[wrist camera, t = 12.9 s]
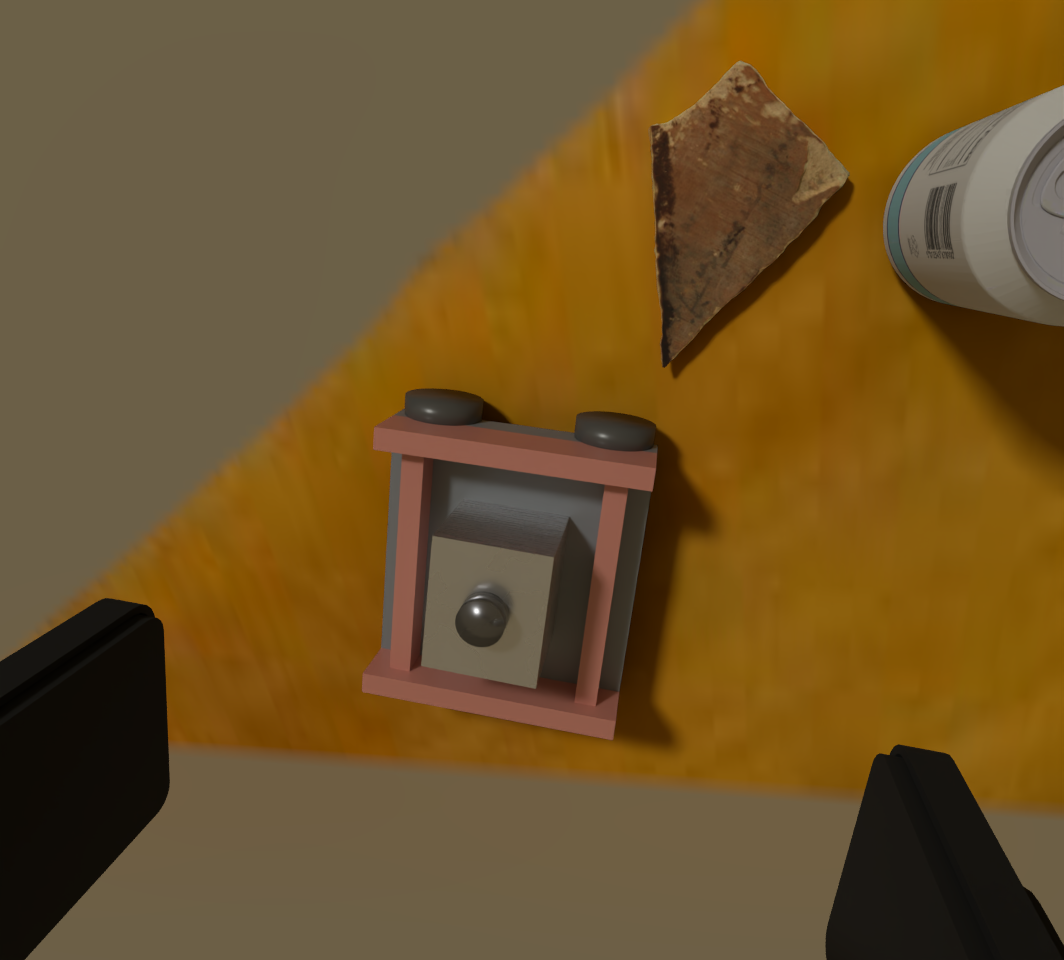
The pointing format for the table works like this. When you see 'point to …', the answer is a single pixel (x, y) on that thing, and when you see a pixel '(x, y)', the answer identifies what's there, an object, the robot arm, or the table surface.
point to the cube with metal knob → (493, 591)
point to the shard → (730, 197)
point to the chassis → (529, 483)
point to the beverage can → (987, 214)
